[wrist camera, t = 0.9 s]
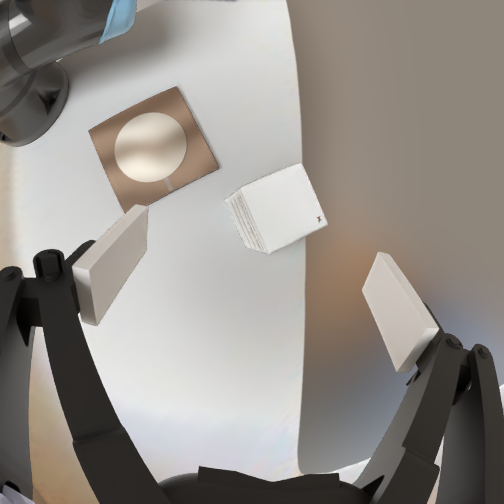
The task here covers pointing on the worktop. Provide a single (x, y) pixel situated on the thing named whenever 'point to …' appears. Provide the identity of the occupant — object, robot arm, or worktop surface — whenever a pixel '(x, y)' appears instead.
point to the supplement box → (276, 209)
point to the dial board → (152, 149)
